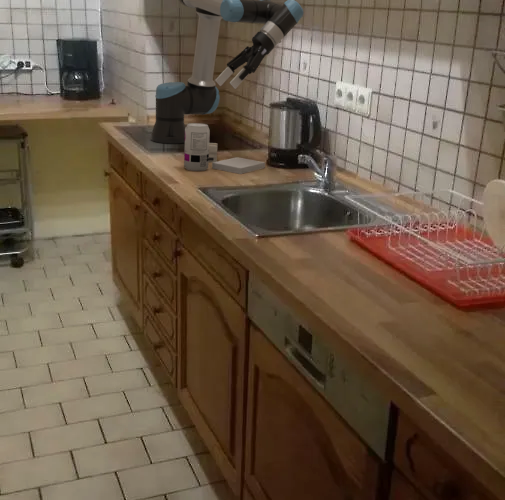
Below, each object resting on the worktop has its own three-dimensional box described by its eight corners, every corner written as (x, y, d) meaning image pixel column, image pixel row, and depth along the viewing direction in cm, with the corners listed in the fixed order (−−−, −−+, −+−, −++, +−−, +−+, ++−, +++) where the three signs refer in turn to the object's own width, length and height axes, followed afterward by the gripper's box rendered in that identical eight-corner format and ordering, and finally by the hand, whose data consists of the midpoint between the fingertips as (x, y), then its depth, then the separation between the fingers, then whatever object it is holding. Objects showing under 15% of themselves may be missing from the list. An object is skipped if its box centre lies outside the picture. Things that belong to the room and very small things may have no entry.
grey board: (237, 162, 246) (237, 157, 245) (264, 167, 239) (265, 162, 239) (212, 168, 234) (212, 162, 233) (240, 174, 228) (240, 168, 227)
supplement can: (179, 169, 230) (180, 124, 225) (192, 165, 236) (193, 122, 232) (199, 172, 226) (201, 127, 221) (212, 168, 233) (214, 125, 228)
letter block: (200, 158, 248) (200, 142, 246) (216, 159, 249) (217, 143, 247) (199, 162, 242) (200, 145, 241) (216, 162, 243) (217, 146, 241)
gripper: (290, 47, 219) (246, 95, 218) (259, 46, 241) (219, 89, 240) (276, 30, 216) (231, 78, 214) (245, 30, 237) (205, 74, 236)
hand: (224, 84), depth 227 cm, fingers open, 13 cm apart
